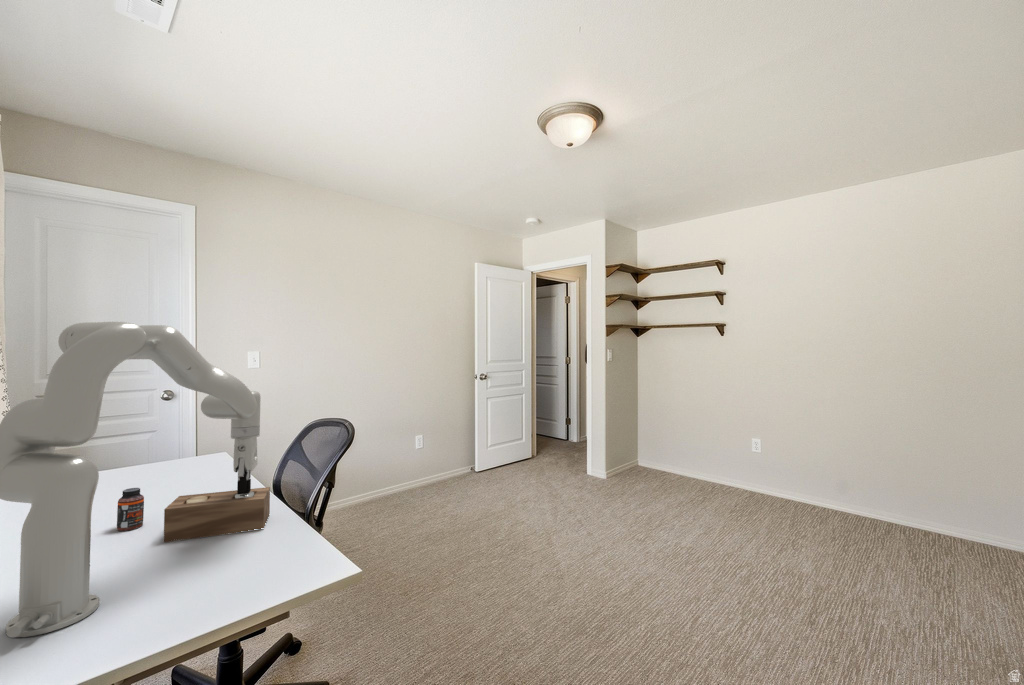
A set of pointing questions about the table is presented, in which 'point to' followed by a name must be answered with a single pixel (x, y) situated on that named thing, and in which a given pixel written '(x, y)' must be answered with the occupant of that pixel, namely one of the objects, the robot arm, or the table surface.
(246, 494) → the gray peg
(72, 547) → the robot arm
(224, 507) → the walnut block
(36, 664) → the table surface
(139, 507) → the supplement bottle
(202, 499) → the peg left
